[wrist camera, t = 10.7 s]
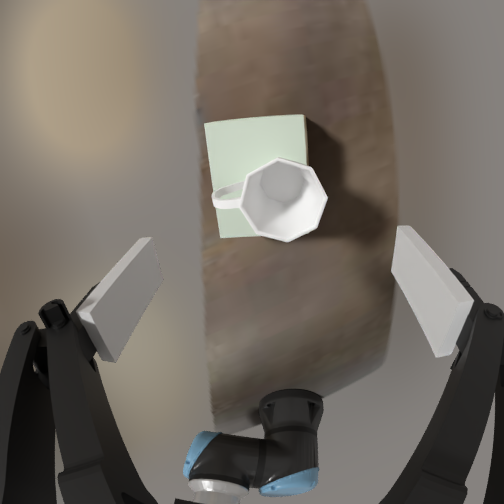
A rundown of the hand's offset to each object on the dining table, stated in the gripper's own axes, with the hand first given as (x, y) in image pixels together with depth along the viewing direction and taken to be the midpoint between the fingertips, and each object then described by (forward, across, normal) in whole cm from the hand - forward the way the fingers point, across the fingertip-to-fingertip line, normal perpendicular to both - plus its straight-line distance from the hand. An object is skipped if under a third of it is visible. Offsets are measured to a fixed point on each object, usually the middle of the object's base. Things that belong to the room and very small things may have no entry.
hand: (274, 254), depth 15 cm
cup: (+17, +1, 0) cm, 17 cm away
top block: (+20, +2, 0) cm, 20 cm away
